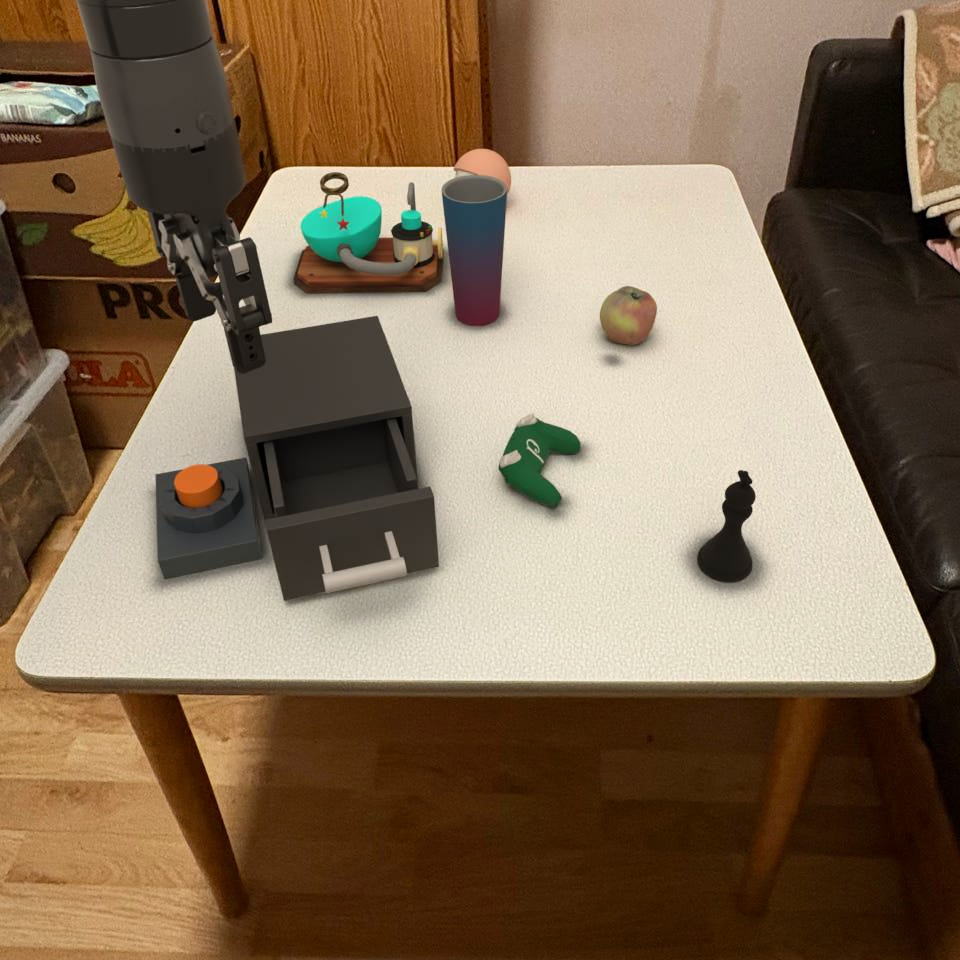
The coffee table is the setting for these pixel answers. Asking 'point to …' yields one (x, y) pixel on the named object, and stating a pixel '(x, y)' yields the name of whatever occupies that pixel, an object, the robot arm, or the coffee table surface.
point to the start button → (198, 485)
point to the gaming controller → (535, 457)
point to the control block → (207, 524)
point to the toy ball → (484, 165)
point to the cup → (475, 245)
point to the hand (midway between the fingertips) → (225, 341)
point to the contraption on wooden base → (366, 247)
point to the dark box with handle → (347, 509)
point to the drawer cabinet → (320, 389)
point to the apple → (628, 315)
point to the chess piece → (730, 536)
